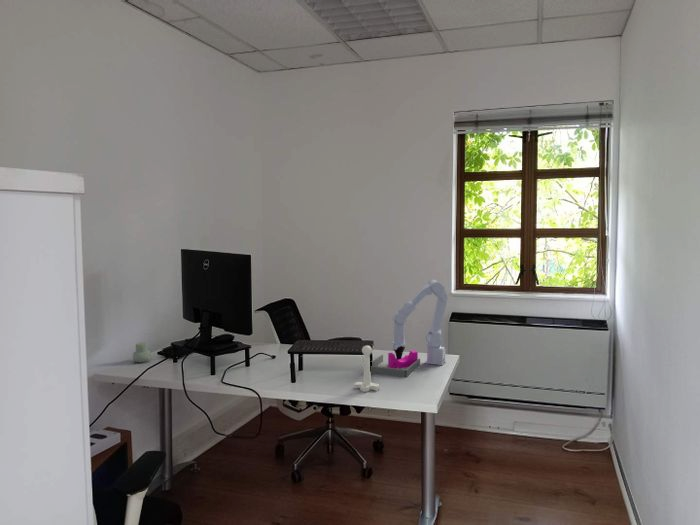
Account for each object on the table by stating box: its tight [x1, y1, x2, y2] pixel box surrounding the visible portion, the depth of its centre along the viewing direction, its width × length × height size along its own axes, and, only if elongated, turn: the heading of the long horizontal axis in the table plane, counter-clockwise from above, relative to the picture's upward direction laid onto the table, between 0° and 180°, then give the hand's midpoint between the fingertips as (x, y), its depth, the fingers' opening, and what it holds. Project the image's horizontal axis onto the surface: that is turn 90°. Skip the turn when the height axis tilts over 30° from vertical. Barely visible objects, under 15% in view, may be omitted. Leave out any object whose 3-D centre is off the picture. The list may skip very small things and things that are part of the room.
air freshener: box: [132, 342, 152, 363], centre depth 294 cm, size 11×8×10 cm
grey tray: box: [371, 354, 421, 378], centre depth 274 cm, size 22×23×4 cm
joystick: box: [353, 345, 380, 393], centre depth 241 cm, size 11×8×20 cm
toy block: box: [387, 350, 419, 369], centre depth 279 cm, size 15×6×8 cm, turn 108°
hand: (398, 360), depth 284 cm, fingers closed, pressing on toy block
